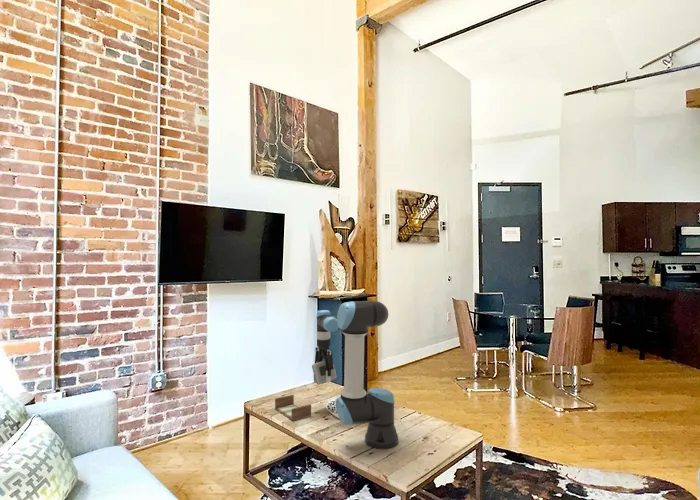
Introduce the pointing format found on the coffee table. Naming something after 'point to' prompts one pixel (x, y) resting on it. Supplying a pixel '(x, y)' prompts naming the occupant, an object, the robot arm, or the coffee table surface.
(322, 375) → the digital clock
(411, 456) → the coffee table surface
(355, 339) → the robot arm
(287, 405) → the cradle
